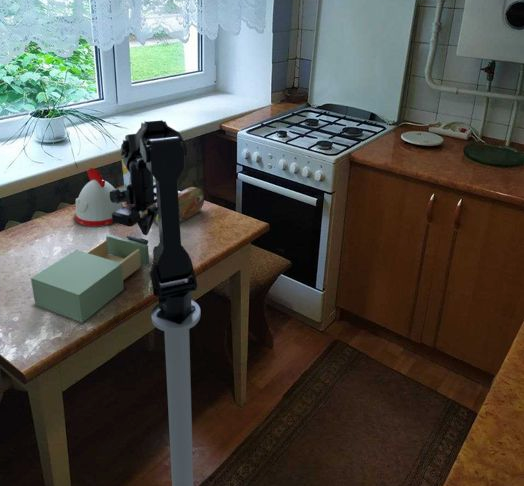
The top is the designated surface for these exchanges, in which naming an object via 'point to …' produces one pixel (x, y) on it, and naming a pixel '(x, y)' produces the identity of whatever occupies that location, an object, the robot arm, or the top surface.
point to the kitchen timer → (95, 202)
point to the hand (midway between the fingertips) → (145, 234)
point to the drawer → (123, 252)
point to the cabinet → (77, 285)
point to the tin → (190, 202)
